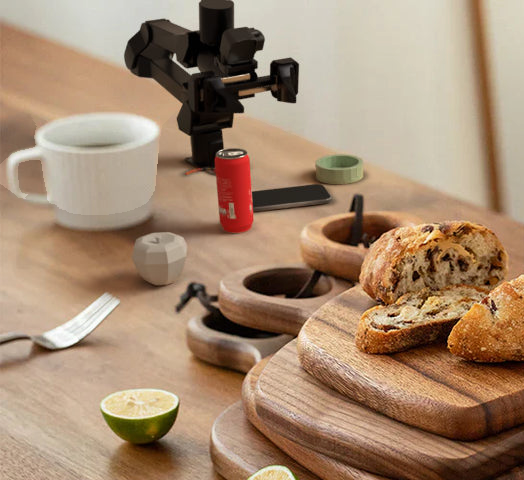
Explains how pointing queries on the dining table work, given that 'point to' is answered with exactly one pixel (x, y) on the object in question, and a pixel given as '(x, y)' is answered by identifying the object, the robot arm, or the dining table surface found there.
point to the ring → (339, 169)
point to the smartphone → (290, 197)
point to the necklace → (200, 170)
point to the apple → (160, 257)
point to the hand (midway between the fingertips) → (269, 105)
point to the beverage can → (234, 190)
